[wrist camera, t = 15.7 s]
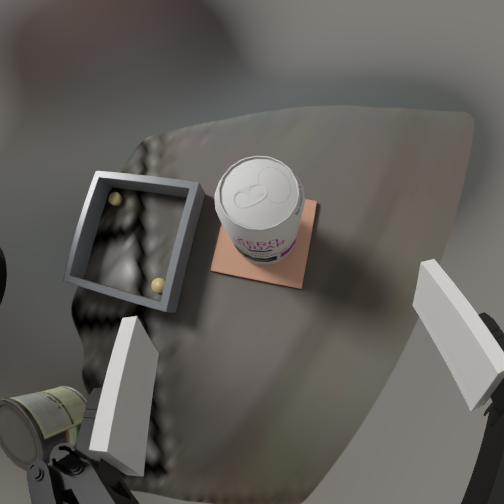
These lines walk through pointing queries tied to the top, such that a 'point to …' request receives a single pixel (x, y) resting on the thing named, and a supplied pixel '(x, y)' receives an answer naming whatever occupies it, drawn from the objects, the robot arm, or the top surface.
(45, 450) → the coffee can
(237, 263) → the terracotta tile
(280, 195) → the supplement can
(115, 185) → the parts tub
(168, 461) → the top surface
